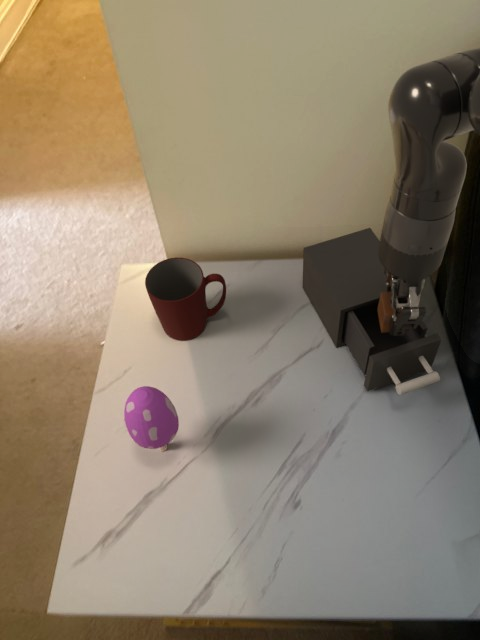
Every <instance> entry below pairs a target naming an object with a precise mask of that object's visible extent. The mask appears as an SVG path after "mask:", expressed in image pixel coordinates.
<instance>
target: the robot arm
mask: <svg viewBox="0 0 480 640" xmlns="http://www.w3.org/2000/svg"><path fill="white" fill-rule="evenodd" d="M387 114H388V121H389V125H390V131H391V138H392V147H393V156H394V165H395V166H394V167H395V169H394V173H393V179H392V184H391V191H390V196H389V199H388V202H387V204H386V208H385V210H384V211H385V212H384V216H383V223H382V227H381V233H380V239H379V241H380V244H379V250H378V256H379V260H380V262H381V264H382V265H383V267H384V268H385V270H384V273H385V276H386V283H385V286H386V288H387V291H386V292H391V296H390V302H391V305H392V308H393V312H392V319H391V323H390V327H389V333H390V335H392V336H404V335H405V334H406V331H407V329H416V327H417V326H418V325H419V323H420V322H421V321H423V319H424V318H425V317H426V314H427V309H426V307H425V306H424V305H423V306H422V305H420V301H421V293H422V290H424V288H425V281H426V278H428V277H430V276H431V275H433V274H435V273H436V272H437V271H438V269H440V267H441V265H442V262H443V259H444V255H445V252H446V249H447V245H448V242H449V239H450V236H451V233H452V230H453V227H454V223H455V219H456V218H455V217H456V210H457V207H458V202H459V198H460V195H461V192H462V189H463V186H464V182H465V179H466V175H467V168H468V162H467V158H466V155H465V154H464V152H463V150H462V149H461V148H459V147H458V146H457V145H455V144H453V143H452V142H448V141H447V140H450V139H454V138H455V137H458V136H461V135H464V134H467V133H470V132H473V131H474V132H475V133H476V134H477V135H478V136H480V47H476V48H470V49H466V50H462V51H459V52H455V53H453V54H451V55H446V56H444V57H441V58H437V59H434V60H430V61H427V62H425V63H421V64H419V65H418V64H417V65H416V66H413V67H410V68H409V69H407V70H406V71H404V72H403V73H402V74H401V75H400V76H399V77H398V78H397V80H396V81H395V83H394V85H393V87H392V89H391V91H390V94H389V97H388V101H387ZM397 296H398V297H399V298H397ZM400 308H401V312H399V309H400Z"/></svg>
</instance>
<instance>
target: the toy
mask: <svg viewBox="0 0 480 640" xmlns="http://www.w3.org/2000/svg"><path fill="white" fill-rule="evenodd" d="M123 417H124V424H125V427H126V429H127V432H128V434H129V436H130V438H131V439H132V440H133V442H134V443H135V444H136V445H137V446H139V447H141V448H143V449H148V450H156V449H159V451H160V452H166V451H167V450H168V444H169V443H171V442H172V441H173V440H174V439H175V437H176V435H177V433H178V431H179V426H180V424H179V421H180V420H179V416H178V413H177V409H176V407H175V405H174V404H173V402H172V401H171V399H170V398H169V396H168V395H167V394H165V393H164V392H163V391H161V389H158V388H157V387H153V386H148V385H144V386H139V387H137V388H135V389H134V390H133V391H132V392H131V393H129V395H128V397H127V398H126V400H125V404H124V410H123Z"/></svg>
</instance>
